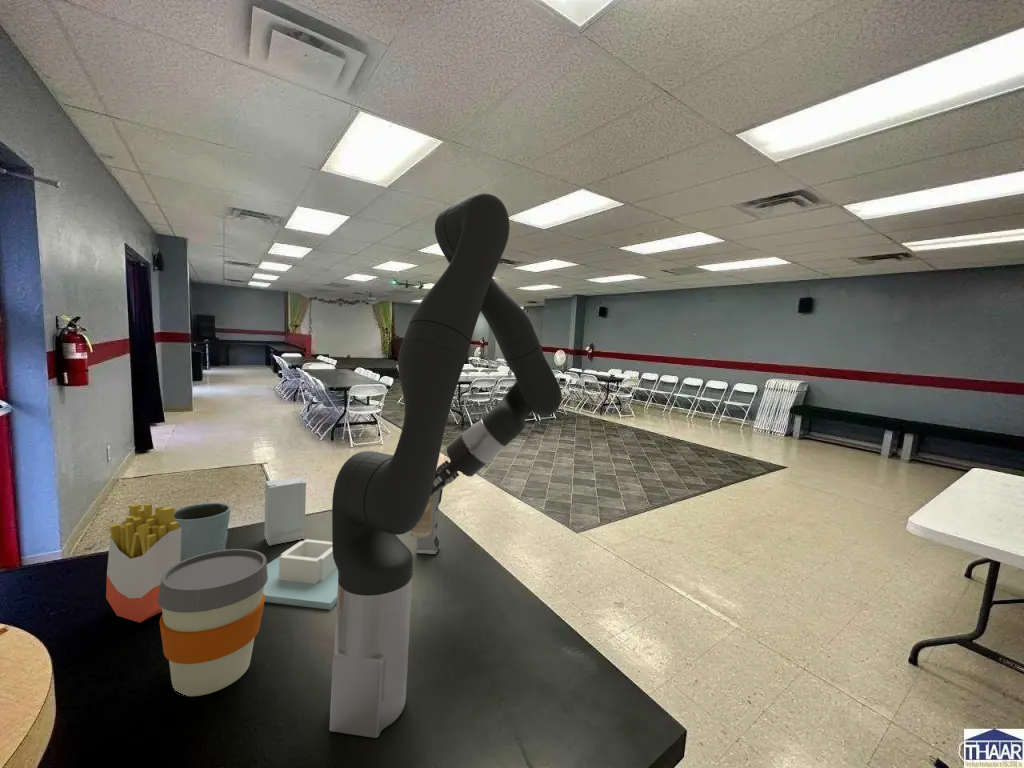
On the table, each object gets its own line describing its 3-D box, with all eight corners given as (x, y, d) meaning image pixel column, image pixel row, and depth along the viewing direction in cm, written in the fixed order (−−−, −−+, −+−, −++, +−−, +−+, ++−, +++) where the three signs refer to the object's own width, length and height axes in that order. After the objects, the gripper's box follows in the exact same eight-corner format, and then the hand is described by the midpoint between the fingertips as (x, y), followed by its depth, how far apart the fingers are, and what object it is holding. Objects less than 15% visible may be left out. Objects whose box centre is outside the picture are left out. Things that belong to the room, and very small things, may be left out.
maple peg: (427, 538, 80) (430, 487, 80) (407, 536, 80) (410, 485, 80) (433, 530, 84) (436, 482, 84) (414, 528, 84) (417, 480, 84)
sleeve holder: (330, 609, 75) (331, 578, 75) (227, 597, 77) (228, 567, 76) (376, 560, 95) (378, 535, 95) (294, 551, 97) (295, 527, 96)
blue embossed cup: (239, 558, 91) (241, 505, 91) (201, 581, 81) (203, 521, 81) (197, 554, 92) (199, 500, 92) (153, 576, 82) (156, 516, 82)
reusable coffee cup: (246, 631, 67) (250, 541, 67) (278, 670, 60) (283, 568, 59) (144, 672, 58) (148, 566, 57) (167, 725, 50) (172, 603, 49)
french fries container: (149, 627, 67) (153, 518, 66) (102, 613, 70) (106, 508, 69) (178, 612, 71) (182, 509, 71) (133, 599, 74) (137, 500, 74)
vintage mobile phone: (437, 555, 99) (442, 451, 98) (416, 554, 99) (422, 450, 98) (440, 548, 103) (445, 448, 102) (419, 547, 103) (425, 447, 102)
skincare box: (299, 532, 107) (302, 475, 107) (305, 540, 102) (308, 481, 102) (262, 539, 102) (264, 479, 101) (266, 548, 97) (269, 485, 97)
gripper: (471, 428, 88) (412, 479, 90) (455, 437, 74) (385, 498, 75) (494, 455, 88) (435, 506, 89) (482, 469, 73) (412, 530, 75)
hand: (413, 502), depth 82 cm, fingers closed on maple peg, 4 cm apart
